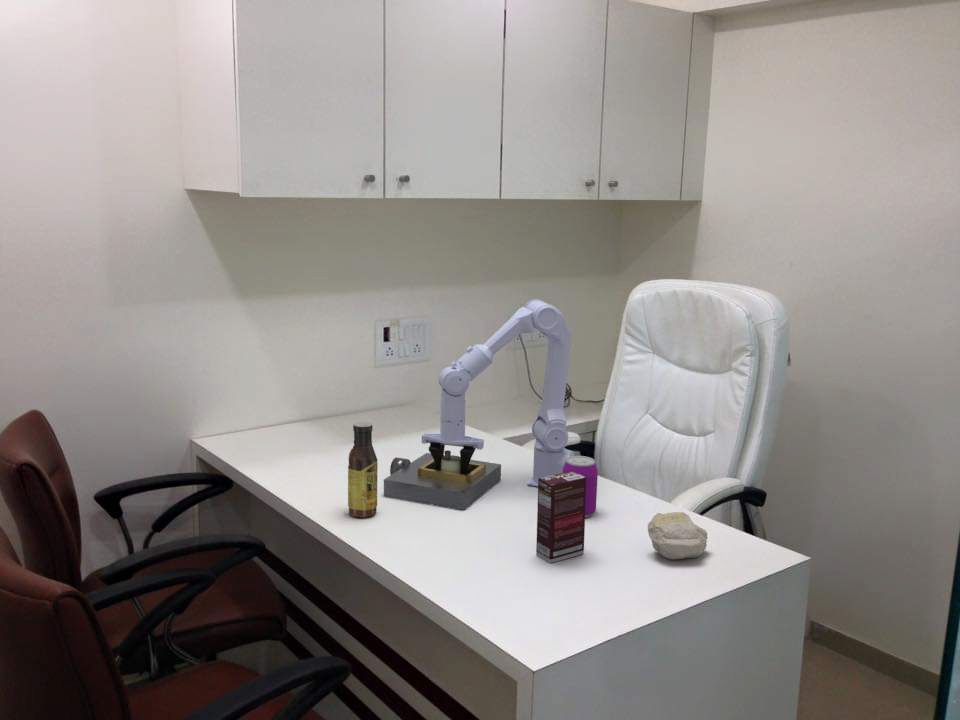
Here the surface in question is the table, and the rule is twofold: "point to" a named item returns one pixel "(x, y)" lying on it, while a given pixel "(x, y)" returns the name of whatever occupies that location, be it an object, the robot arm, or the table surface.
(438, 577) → the table surface
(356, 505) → the sauce bottle
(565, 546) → the supplement box
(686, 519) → the beige lumpy stone
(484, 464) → the grey panel with frame
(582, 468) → the beverage can
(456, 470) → the spout can
